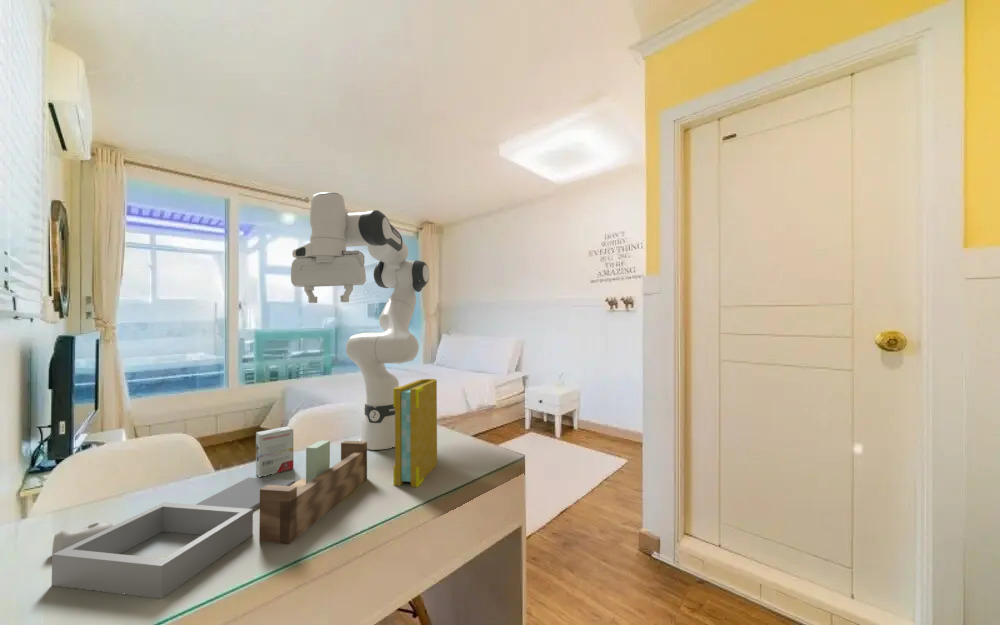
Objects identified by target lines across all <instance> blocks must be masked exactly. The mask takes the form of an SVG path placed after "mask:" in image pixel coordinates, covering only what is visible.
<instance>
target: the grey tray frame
mask: <svg viewBox="0 0 1000 625" xmlns="http://www.w3.org/2000/svg"><path fill="white" fill-rule="evenodd" d="M253 519H254V510H253V509H246V508H233V507H219V506H206V505H195V504H189V503H177V502H176V503H175V502H163V503H160V504H158V505H156V506H153V507H152V508H150V509H147V510H145V511H143V512H140V513H139V514H136V515H134V516H133V517H130V518H128V519H125V520H124V521H121V522H119V523H117V524H115V525H114V526H112V527H110V528H108V529H106V530H104V531H102V532H99V533H97V534H95V535H93V536H91V537H89V538H87V539H84V540H82V541H80V542H78V543H76V544H74V545H71V546H69V547H67V548H65V549H63V550H61V551H58V552H56V553H54V554H52V553H51V586H52V585H54V586H53V587H59V586H62V587H61V588H67V587H71V588H70V589H75V588H78V589H77V590H83V589H84V591H85V590H86V591H92V590H98V591H97V592H100V591H102V592H101V593H109V594H118V595H125V594H129V595H128V596H134V597H140V598H141V597H144V598H151V599H157V598H159V599H158V600H161V599H160V598H162V597H163V598H164V597H166V596H167V595H169V594H170V593H172V592H173V591H175V590H176V589H177V588H179V587H180V586H181V585H183V584H185V583H186V582H187V581H189V580H190V579H192V578H193V577H194V576H196V575H197V574H199V573H200V572H201V571H202V570H204V569H206V568H207V567H208V566H210V565H211V564H212V563H214V562H216V561H217V560H218V559H220V558H221V557H222V556H224V555H225V554H227V553H228V552H230V551H232V549H234V548H235V547H237V546H238V545H239V544H241V543H242V542H244V541H245V540H247V539H248V538H249V537H251V536H252V535H253V528H254V520H253ZM163 532H164V533H165V532H168V533H178V534H179V533H180V534H190V535H199V536H198V537H197V538H196V539H194V540H192V541H190V542H189V543H187V544H186V545H184V546H183V547H181V548H179V549H177V550H176V551H174V552H173V553H170V554H169V555H167V556H166V557H164V558H163V557H162V558H161V557H160V558H158V557H151V556H150V557H149V556H141V555H131V554H122V553H124V552H127V551H128V550H130V549H131V548H133V547H135V546H137V545H139V544H141V543H143V542H145V541H146V540H149V539H150V538H153V537H154V536H157V535H158V534H159V533H163ZM55 585H56V586H55ZM122 593H123V594H122ZM124 593H125V594H124ZM163 598H162V599H163Z"/></svg>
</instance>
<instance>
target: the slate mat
mask: <svg viewBox="0 0 1000 625" xmlns="http://www.w3.org/2000/svg"><path fill="white" fill-rule="evenodd" d="M295 482H296V480H295V479H277V478H264V477H261V478H259V477H247V478H245V479H242V480H241V481H239V482H237V483H235V484H233V485H231V486H228V487H227V488H225V489H223V490H221V491H219V492H218V493H214V494H213V495H211V496H210V497H209V496H208V497H207V498H205V499H203V500H202V501H200V502H198V503H195V504H194V505H206V506H219V507H233V508H246V509H253V511H255V510H257V509H258V508H260V489H261V488H263V487H265V486H267V485H279V486H290V485H292V484H294V483H295ZM256 508H257V509H256Z"/></svg>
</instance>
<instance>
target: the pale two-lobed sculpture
mask: <svg viewBox="0 0 1000 625" xmlns="http://www.w3.org/2000/svg"><path fill="white" fill-rule="evenodd" d="M112 526H115V525H114V524H113V523H111V522H104V523H99V522H95V523H92V524H89V525H88V526H86V527H84V528H82V529H80V530H78V531H72V532H70V531H66V530H64V529H63V530H60V531H59V532H58V533H56V534H54V537H53V540H52V541H53V542H52V549H51V555H52V554H54V553H56V552H58V551H61V550H63V549H65V548H67V547H69V546H71V545H74V544H76V543H78V542H80V541H82V540H84V539H87V538H89V537H91V536H93V535H95V534H97V533H99V532H102V531H104V530H106V529H108V528H110V527H112Z"/></svg>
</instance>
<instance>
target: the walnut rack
mask: <svg viewBox="0 0 1000 625" xmlns="http://www.w3.org/2000/svg"><path fill="white" fill-rule="evenodd" d="M366 480H368V449H367V442H366V441H357V440H344V441H342V442H340V461H339V462H338V463H336V464H335V465H332V466H330V469H328V470H327V471H325V472H324V473H322V474H321V475H319V476H318V477H316V478H315V479H313V480H312V481H310V482H309V483H307V484H306V485H304V486H302V487H301V488H299V489H298V490H297V487H295V486H279V485H267V486H265V487H263V488H261V489H260V507H259V532H258V533H259V536H258V540H259V543H260V542H261V543H273V544H282V545H290V544H292V542H294V541H295V540H296V539H297V538H298V537H300V536H301V535H302V534H303V533H304V532H306V531H307V530H308V529H309V528H310V527H312V526H313V525H314V524H315V523H316V522H317V521H318V520H320V519H321V518H322V517H323V516H324V515H326V514H327V513H328V512H330V510H331V509H333V508H334V507H335V506H336V505H338V504H339V503H340V502H341V501H342V500H344V499H345V498H346V497H347V496H348V495H349V494H351V493H352V492H353V491H354V490H356V488H358V487H359V486H360V485H361V484H362V483H364V482H365V481H366Z"/></svg>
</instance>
